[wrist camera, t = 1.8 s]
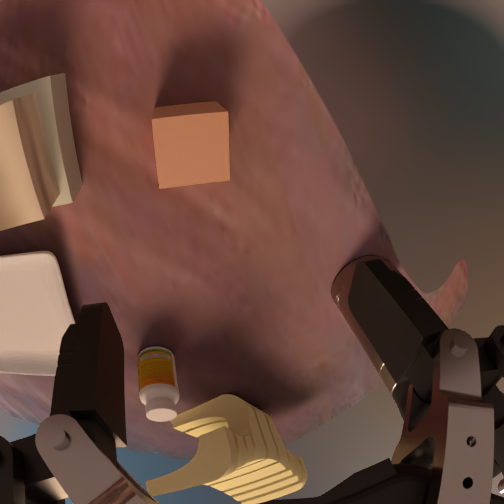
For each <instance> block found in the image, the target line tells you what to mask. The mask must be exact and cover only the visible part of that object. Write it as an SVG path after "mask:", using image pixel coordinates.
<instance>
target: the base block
mask: <svg viewBox="0 0 504 504" xmlns="http://www.w3.org/2000/svg"><path fill="white" fill-rule="evenodd" d="M36 91H37V96H38V102H39V108H40V113H41V119H42V124H43V128H44V133H45V138H46V142H47V146H48V150H49V155H50V159H51V162H52V166H53V170H54V174H55V177H56V181H57V184H58V188H59V191H60V195H59V196H58V198H57V199H56V201H55V203H54V204H53V206H52V207H54V206H59V205H64V204H69V203H73V201H74V199H75V197H76V195H77V194H78V192H79V190H80V188H81V186H82V185H83V184H82V179H81V175H80V170H79V165H78V160H77V154H76V149H75V143H74V137H73V131H72V125H71V118H70V111H69V103H68V95H67V86H66V75H65V73H61V74H55V75H50V76H47V77H44V78H40V79H37V80H34V81H31V82H28V83H25V84H22V85H19V86H16V87H13V88H11V89H8V90H5V91H3V92H0V105H2V104H4V103H6V102H9V101H11V100H14V99H17V98H19V97H22V96H25V95H28V94H30V93H33V92H36Z"/></svg>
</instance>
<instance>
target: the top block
mask: <svg viewBox="0 0 504 504" xmlns="http://www.w3.org/2000/svg"><path fill="white" fill-rule="evenodd" d="M59 195H60V191H59V188H58V184H57V181H56V177H55V174H54V170H53V166H52V162H51V159H50V155H49V150H48V146H47V142H46V138H45V133H44V128H43V124H42V119H41V113H40V108H39V102H38V96H37V91H36V92H33V93H30V94H28V95H25V96H22V97H19V98H17V99H14V100H11V101H9V102H6V103H4V104H2V105H0V231H2V230H5V229H9V228H13V227H16V226H20V225H24V224H27V223H31V222H35V221H39V220H43V219H45V217H46V216H47V214H48V212H49V211H50V209H51V207H52V206H53V204H54V203H55V201H56V199H57V198H58V196H59Z"/></svg>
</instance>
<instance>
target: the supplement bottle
mask: <svg viewBox="0 0 504 504" xmlns="http://www.w3.org/2000/svg"><path fill="white" fill-rule="evenodd" d="M138 379H139V397H140V400H141V402H142V403H143V404H144V405H145V410H146V416H147V418H149V419H150V420H153V421H158V422H164V421H170V420H172V419H174V418H175V417H176V416H177V410H176V405H175V404H176V403H177V402H178V400H179V387H178V380H177V373H176V365H175V358H174V355H173V353H172V352H171V351H170V350H168V349H166V348H164V347H159V346H153V347H148V348H145V349H143V350H142V351H141V352H140V353H139V355H138Z"/></svg>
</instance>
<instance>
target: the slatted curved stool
mask: <svg viewBox="0 0 504 504" xmlns="http://www.w3.org/2000/svg"><path fill="white" fill-rule="evenodd" d="M170 421H171V423H172V425H173V428H175V429H177V430H179V431H182V432H183V431H185V433H187V434H189V435H192V436H194V437H199V446H198V450H197V452H196V454H195V456H194V457H193V459H192V460H191V461H190V462H189V463H188V464H186V465H185V466H183V467H182V468H180V469H179V470H176V471H174V472H172V473H170V474H168V475H165V476H162V477H159V478H156V479H152V480H149V481H146V487H147V492H148V493H149V494H150V495H151V496H156V495H161V494H165V493H170V492H174V491H179V490H183V489H187V488H190V487H194V486H198V485H202V484H203V485H210V486H211V487H213V488H216V489H218V490H220V491H223V490H224V492H225V493H226V494H227V495H229V496H231V495H232V497H233V498H234V499H236V500H237V501H240V502H241V504H258V503H262V502H266V501H269V500H272V499H275V498H278V497H281V496H284V495H286V494H289V493H292V492H295V491H297V490H299V489H301V488H302V487H303V486H304V485H305V483H306V480H307V470H306V468H305V465H304V462H303V460H302V457H301V456H298V457H297V456H294V455H293V456H292V454H291V453H290V452H289V451H288V450H287V449H285V448H284V445H283V442H282V440H281V438H280V436H279V434H278V432H277V430H276V427H275V425H274V423H273V420H272V418H271V417H270V416H269V415H268V414H266V413H264V412H263V411H261V410H259V409H258V408H256V407H254V406H252V405H251V404H249V403H247V402H246V401H244V400H242V399H241V398H239V397H237V396H235V395H231V394H224V395H221V396H219V397H216V398H214V399H212V400H210V401H208V402H205V403H203V404H201V405H199V406H197V407H194V408H192V409H190V410H187V411H185V412H183V413H180V414H178V415H177V416H176V417H175V418H174V419H172V420H170Z"/></svg>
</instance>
